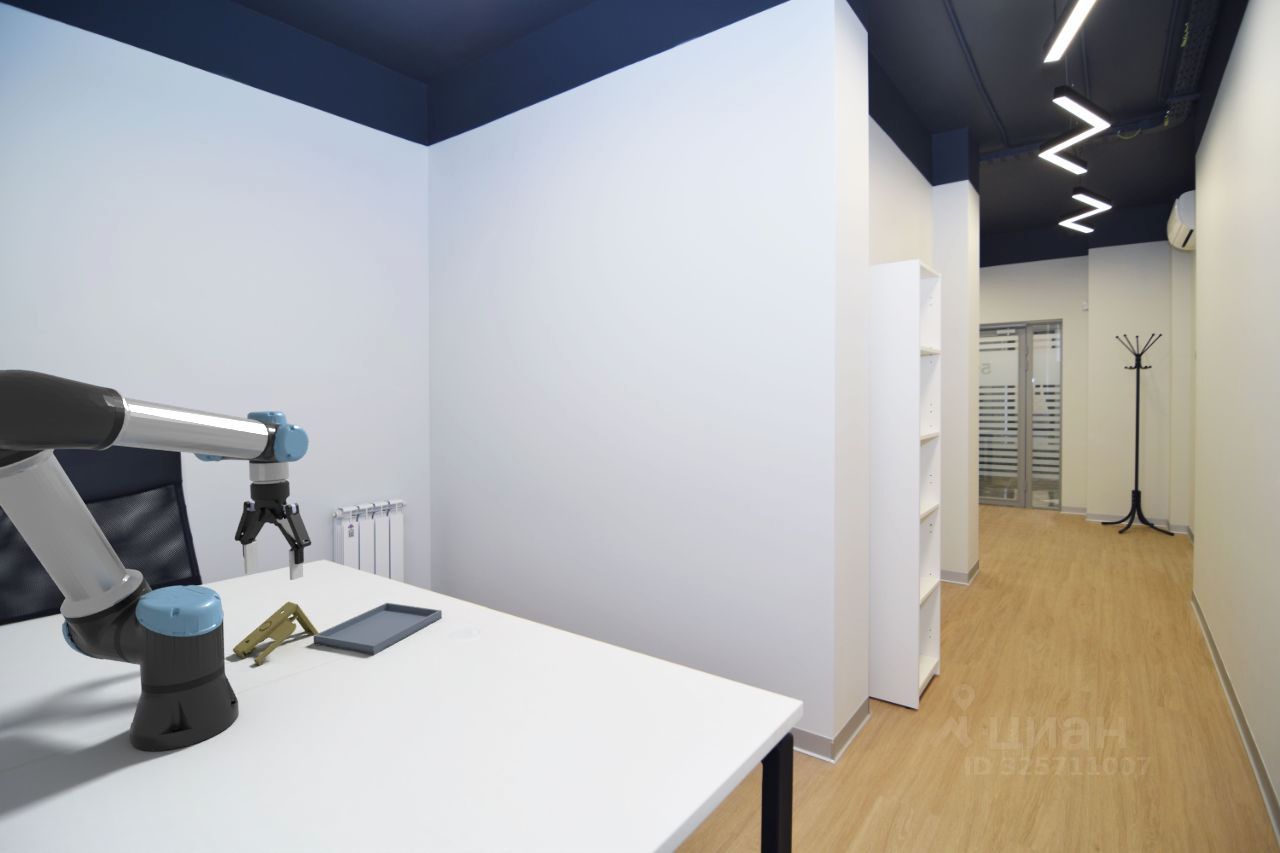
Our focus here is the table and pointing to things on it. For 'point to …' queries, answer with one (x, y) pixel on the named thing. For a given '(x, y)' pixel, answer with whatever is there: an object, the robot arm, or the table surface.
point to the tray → (377, 628)
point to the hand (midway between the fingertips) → (273, 575)
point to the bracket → (275, 630)
